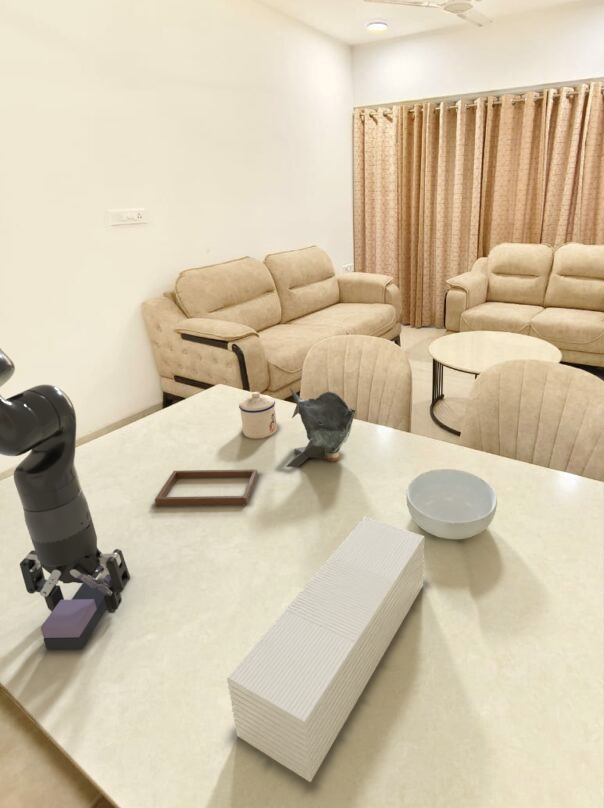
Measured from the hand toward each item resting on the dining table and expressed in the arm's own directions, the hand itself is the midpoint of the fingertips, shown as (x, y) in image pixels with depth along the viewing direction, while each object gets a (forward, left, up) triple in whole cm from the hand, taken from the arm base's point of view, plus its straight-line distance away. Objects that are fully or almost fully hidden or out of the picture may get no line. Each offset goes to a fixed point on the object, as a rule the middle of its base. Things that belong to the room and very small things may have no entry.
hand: (87, 609), depth 77 cm
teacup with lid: (+14, +60, -2) cm, 62 cm away
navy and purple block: (0, 0, -2) cm, 2 cm away
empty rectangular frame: (+9, +32, -2) cm, 33 cm away
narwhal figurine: (+32, +44, -2) cm, 55 cm away
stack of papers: (+40, -7, -2) cm, 41 cm away
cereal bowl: (+59, +21, -2) cm, 63 cm away
